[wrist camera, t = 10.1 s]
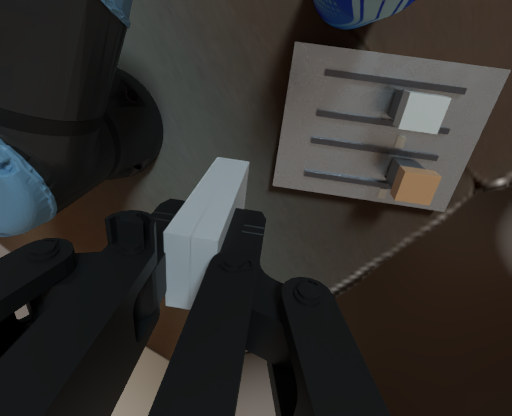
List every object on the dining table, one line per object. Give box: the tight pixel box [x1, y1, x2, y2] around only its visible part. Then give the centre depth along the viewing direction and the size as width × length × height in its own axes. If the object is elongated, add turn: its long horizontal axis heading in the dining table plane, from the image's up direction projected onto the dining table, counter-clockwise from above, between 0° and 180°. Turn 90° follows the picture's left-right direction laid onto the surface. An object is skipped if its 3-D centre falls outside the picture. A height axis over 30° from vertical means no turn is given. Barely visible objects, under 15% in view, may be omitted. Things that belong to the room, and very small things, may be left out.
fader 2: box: [386, 158, 442, 206], centre depth 37 cm, size 4×4×6 cm
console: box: [273, 42, 511, 212], centre depth 39 cm, size 24×18×3 cm
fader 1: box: [388, 90, 452, 134], centre depth 33 cm, size 4×4×6 cm
